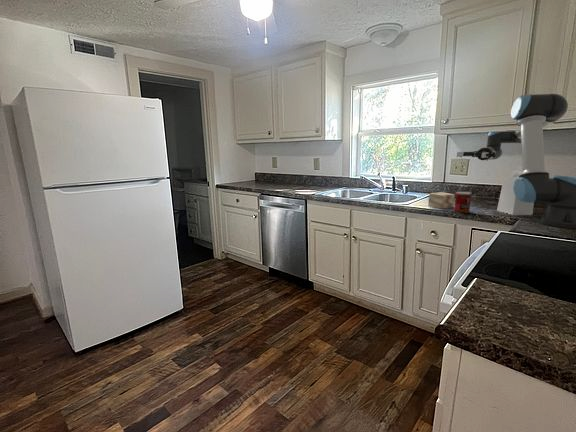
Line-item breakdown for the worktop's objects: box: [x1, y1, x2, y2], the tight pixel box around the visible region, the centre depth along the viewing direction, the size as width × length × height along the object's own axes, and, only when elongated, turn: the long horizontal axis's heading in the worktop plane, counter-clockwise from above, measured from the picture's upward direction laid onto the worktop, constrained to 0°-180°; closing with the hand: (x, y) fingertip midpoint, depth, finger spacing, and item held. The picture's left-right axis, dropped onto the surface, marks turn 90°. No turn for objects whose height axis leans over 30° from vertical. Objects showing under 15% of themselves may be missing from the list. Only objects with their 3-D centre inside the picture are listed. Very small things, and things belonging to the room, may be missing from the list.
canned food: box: [453, 191, 472, 214], centre depth 181 cm, size 8×8×11 cm
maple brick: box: [428, 191, 456, 209], centre depth 196 cm, size 10×10×8 cm
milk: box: [496, 165, 535, 216], centre depth 175 cm, size 12×12×26 cm
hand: (469, 154), depth 179 cm, fingers open, 13 cm apart
